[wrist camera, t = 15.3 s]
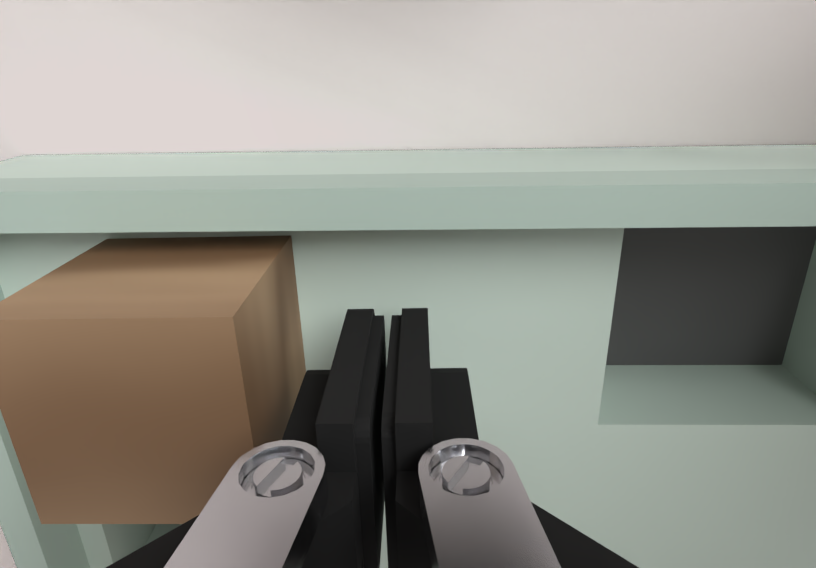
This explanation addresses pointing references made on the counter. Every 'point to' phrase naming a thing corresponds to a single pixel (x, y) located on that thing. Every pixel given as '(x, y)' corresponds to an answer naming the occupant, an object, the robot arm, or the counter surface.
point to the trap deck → (513, 317)
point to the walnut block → (149, 373)
